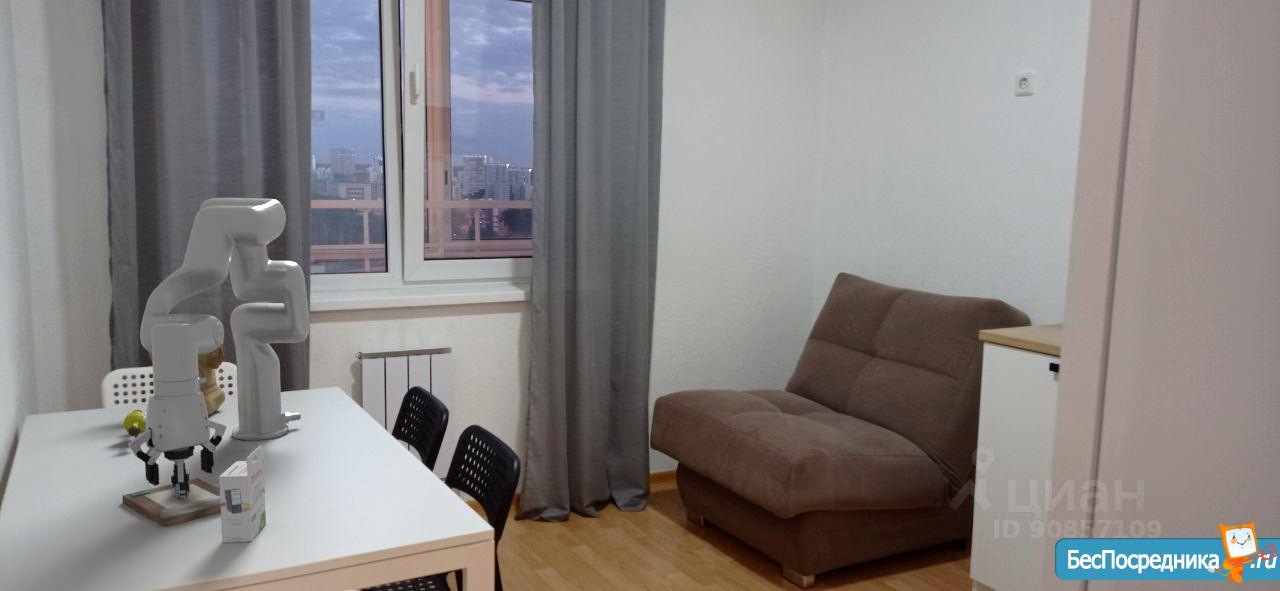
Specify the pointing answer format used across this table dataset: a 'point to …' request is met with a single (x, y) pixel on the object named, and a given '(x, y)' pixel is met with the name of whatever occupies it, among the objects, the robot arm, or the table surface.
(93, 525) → the table surface
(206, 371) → the ceramic vessel
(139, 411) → the toy figure
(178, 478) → the push button
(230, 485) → the ink box
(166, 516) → the brown flat wooden tray
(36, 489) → the table surface
